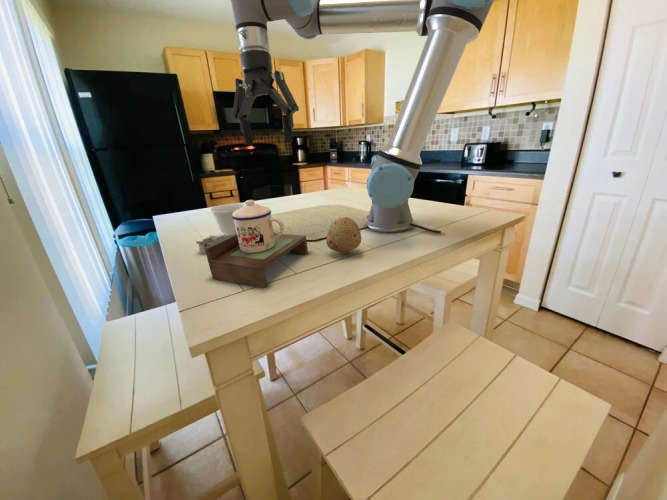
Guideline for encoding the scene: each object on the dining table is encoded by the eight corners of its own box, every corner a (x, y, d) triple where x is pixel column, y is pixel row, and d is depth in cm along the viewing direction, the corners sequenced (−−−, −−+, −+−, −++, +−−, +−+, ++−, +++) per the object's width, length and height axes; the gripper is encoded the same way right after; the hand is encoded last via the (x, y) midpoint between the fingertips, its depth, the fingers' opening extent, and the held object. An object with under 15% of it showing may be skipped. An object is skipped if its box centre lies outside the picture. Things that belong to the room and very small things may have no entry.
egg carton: (197, 255, 80) (193, 242, 78) (208, 245, 87) (204, 233, 85) (233, 252, 79) (230, 239, 78) (241, 243, 86) (238, 230, 85)
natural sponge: (369, 252, 72) (369, 216, 68) (345, 263, 67) (343, 225, 63) (346, 244, 79) (344, 211, 75) (322, 254, 73) (319, 218, 70)
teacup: (255, 239, 88) (250, 209, 85) (210, 242, 89) (203, 212, 85) (264, 228, 100) (260, 201, 96) (224, 230, 100) (218, 204, 96)
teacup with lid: (232, 253, 65) (221, 205, 60) (249, 240, 73) (240, 197, 68) (280, 254, 62) (272, 204, 58) (292, 240, 71) (286, 195, 66)
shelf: (308, 252, 75) (304, 225, 72) (264, 288, 59) (257, 254, 55) (264, 247, 81) (259, 222, 78) (212, 278, 64) (204, 247, 61)
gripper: (207, 58, 70) (225, 146, 78) (289, 38, 60) (300, 141, 68) (228, 64, 76) (242, 145, 84) (305, 46, 66) (314, 140, 75)
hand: (268, 143), depth 76 cm, fingers open, 13 cm apart
